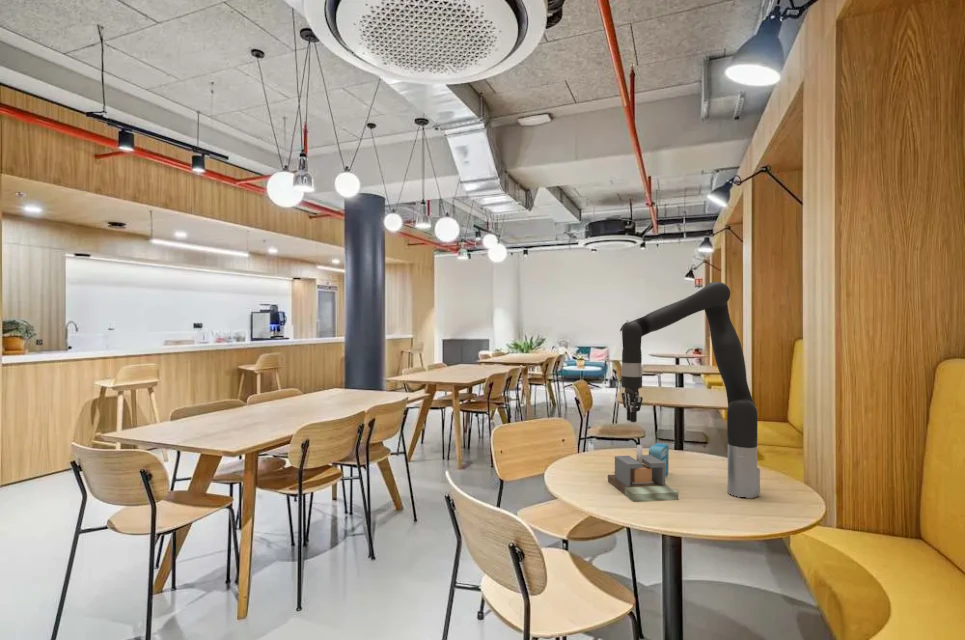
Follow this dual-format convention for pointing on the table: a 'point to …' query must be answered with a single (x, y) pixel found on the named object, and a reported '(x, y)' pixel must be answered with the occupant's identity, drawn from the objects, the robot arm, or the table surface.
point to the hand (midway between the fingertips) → (631, 421)
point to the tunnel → (628, 462)
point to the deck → (645, 491)
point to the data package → (660, 454)
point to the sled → (640, 471)
